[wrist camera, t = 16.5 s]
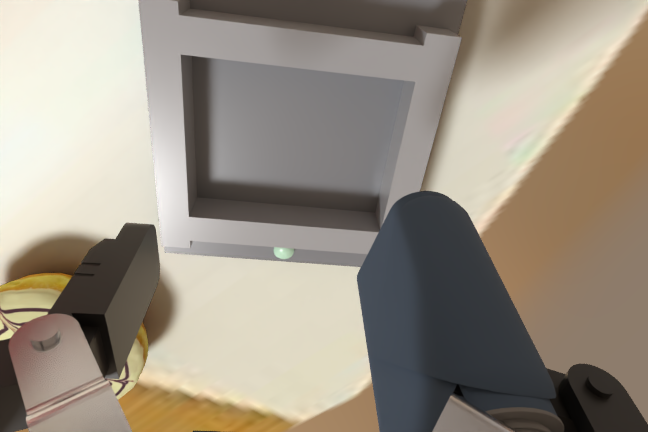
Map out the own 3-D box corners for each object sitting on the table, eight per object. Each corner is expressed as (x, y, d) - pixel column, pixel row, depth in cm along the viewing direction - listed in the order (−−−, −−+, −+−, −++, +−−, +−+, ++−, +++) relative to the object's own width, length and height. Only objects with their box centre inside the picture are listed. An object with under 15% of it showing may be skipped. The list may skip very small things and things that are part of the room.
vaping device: (345, 288, 16) (412, 861, 7) (402, 174, 13) (665, 922, 4) (408, 300, 17) (549, 842, 7) (476, 193, 14) (862, 880, 4)
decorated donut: (-19, 354, 30) (-57, 401, 27) (0, 236, 26) (-43, 275, 23) (131, 392, 33) (113, 439, 30) (173, 292, 29) (156, 334, 25)
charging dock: (143, -66, 18) (117, -68, 16) (465, -21, 20) (489, -15, 17) (169, 242, 27) (154, 274, 24) (392, 259, 28) (400, 291, 25)
